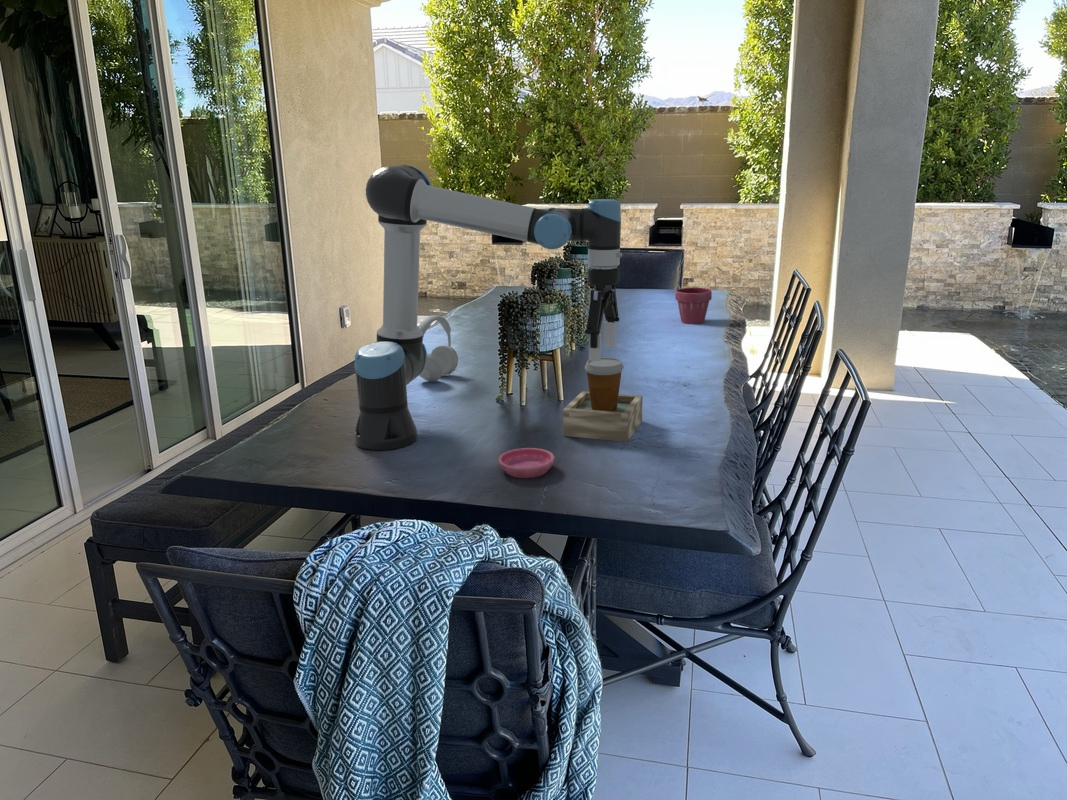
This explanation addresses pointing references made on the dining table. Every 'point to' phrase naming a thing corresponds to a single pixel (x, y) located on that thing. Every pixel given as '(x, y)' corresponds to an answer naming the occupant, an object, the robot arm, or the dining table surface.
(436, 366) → the headphones
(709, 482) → the dining table surface
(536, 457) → the saucer
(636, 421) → the open wooden box
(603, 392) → the disposable coffee cup
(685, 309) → the plant pot
